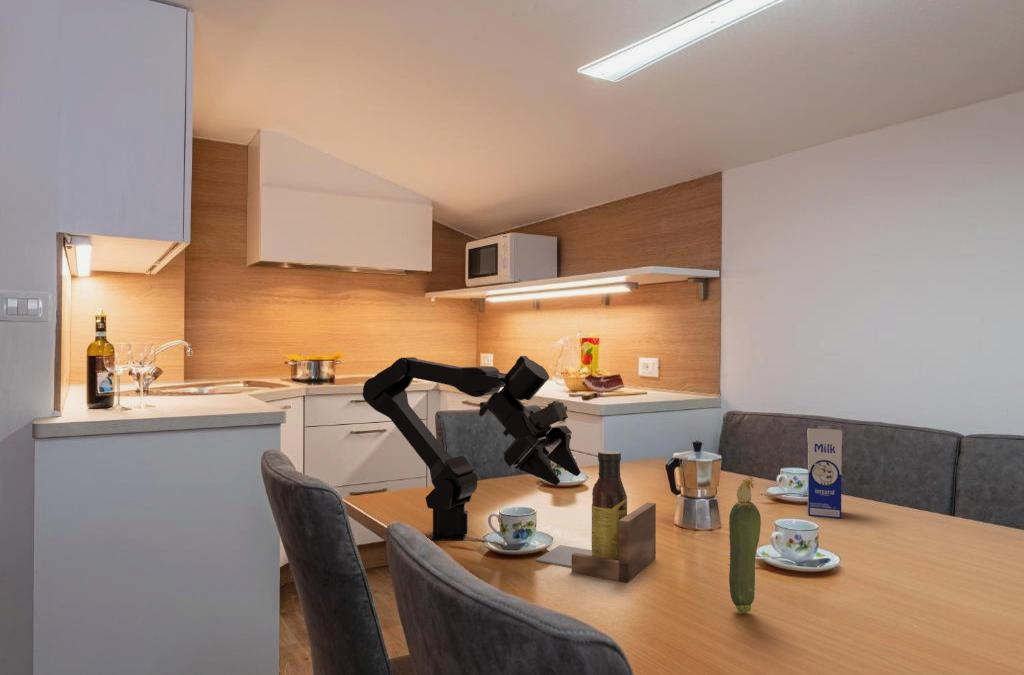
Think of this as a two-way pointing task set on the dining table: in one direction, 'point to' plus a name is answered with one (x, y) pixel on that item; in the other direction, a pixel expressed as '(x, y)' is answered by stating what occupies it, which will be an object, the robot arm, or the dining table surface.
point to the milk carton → (824, 472)
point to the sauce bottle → (608, 506)
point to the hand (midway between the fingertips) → (568, 478)
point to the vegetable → (743, 547)
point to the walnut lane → (625, 548)
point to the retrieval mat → (562, 555)
